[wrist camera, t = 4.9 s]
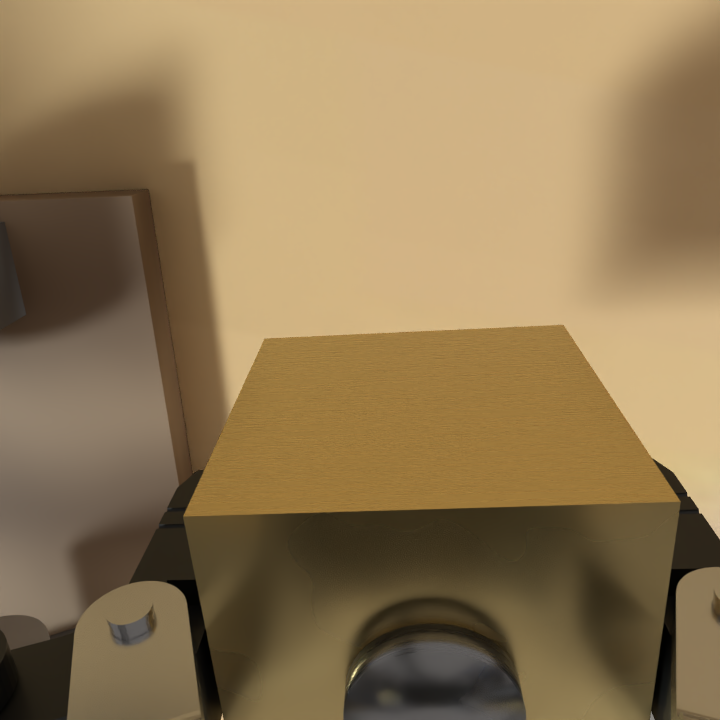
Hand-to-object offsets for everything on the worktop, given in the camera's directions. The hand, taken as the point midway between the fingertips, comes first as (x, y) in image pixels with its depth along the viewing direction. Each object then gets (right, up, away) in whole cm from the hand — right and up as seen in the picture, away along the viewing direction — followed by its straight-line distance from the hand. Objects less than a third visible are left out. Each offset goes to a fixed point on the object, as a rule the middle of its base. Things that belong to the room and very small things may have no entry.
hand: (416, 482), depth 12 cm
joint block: (0, 0, +1) cm, 1 cm away
